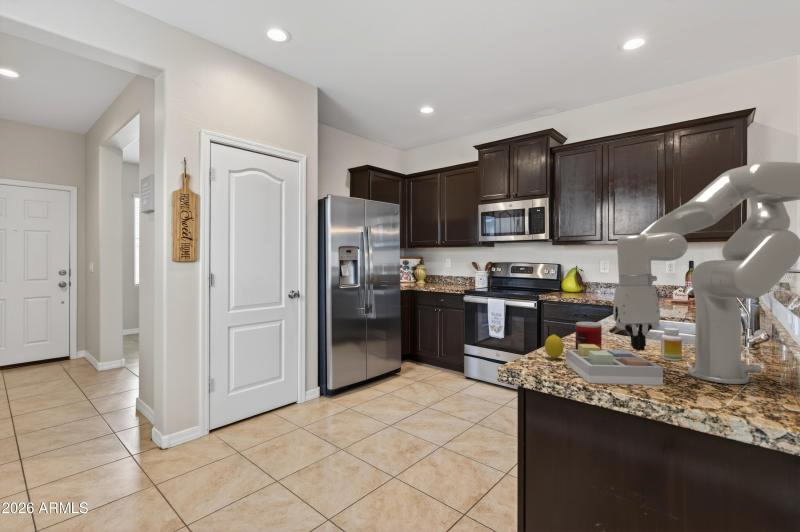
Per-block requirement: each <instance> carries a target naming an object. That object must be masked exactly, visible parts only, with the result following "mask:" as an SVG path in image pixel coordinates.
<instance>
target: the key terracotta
mask: <svg viewBox="0 0 800 532" xmlns="http://www.w3.org/2000/svg"><path fill="white" fill-rule="evenodd" d="M621 363H622V364H624V365H626V366H647V361H645V360H643V359H641V358H639V357H621Z"/></svg>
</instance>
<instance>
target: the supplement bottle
mask: <svg viewBox="0 0 800 532" xmlns="http://www.w3.org/2000/svg"><path fill="white" fill-rule="evenodd" d="M663 333H664V334H662V335H661V337H660V338H661V340H660V345H661V346H660V348H661V349H660V350H661V353H660V355H661V358H662V359H663V360H667V361H672V362H681V361H682V360H683V358H682V357H683V350H682V348H683V345H682V344H683V343H682V342H683V340H682V339H683V338H682V336H680V335H679V334H680V329H679V328H674V327H664V328H663Z"/></svg>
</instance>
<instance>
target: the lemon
mask: <svg viewBox="0 0 800 532" xmlns="http://www.w3.org/2000/svg"><path fill="white" fill-rule="evenodd" d="M544 349H545V352H546V354H547V355H548V356H549V357H550V358H552V359H554V360H556V359H557V358H559V357H561V356H562V354H563V352H564V343H563V340H562V339H561V338H560V337H559V336H558V335H556V334H554V333H553V334H551V335H549V336H547V338H546V340H545V343H544Z"/></svg>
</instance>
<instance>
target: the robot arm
mask: <svg viewBox="0 0 800 532" xmlns="http://www.w3.org/2000/svg"><path fill="white" fill-rule="evenodd" d="M747 199H749V202H750V203H749V204H750V207H751V208H750V210H751V212H750V215H749V216H748V218H747V220H745V222H744V223H743V224H742V225H741V226H740V227H739V228H738V229H737V230H736V231H735V232H734V233H733V234H732V236H730V237H729V239H728V240H726V242H725V244H724V245H723V247H722V250H721V251H722V252H721V253H722V257H723V259H715V260H712V259H711V260H707V261H703V262H701V263H700V264H698V265H696V266H695V267H694V269H693V270H692V272H691V276H690V282H691V286H692V292H693V296H694V305H695V306H694V307H695V308H694V309H695V312H694V313H695V314H694V315H695V322H694V323H695V325H694V326H695V332H694V334H695V335H694V337H695V338H694V341H695V343H694V344H695V345H694V346H695V347H694V352H695V353H694V364H695V365H694V366H691V367H689V368H687V373H688V374H689V375H690V376H692V377H693V378H696V379H700V380H704V381H709V382H711V383H719V384H729V385H742V384H747V383H749V382H750V380H749V376H748V375H747V374H748V373H761V372H762V366H760V365H759V364H747V363H745V362H742V312H741V311H742V310H741V307H740V304H739V303H738V301H737V299H746V300H747V299H748V300H751V299H753V300H754V299H757V298H761V297H762V296H765V294H768V293H769V292H770V291H771V290H772V289H773V288H774V287H775V286H776V285H777V284H778V282H780V280H781V279H782V278H783V277H784V276H785V275H786V274H787V273H788V272H789V271H790V270H791V269H792V267H794V265H796V263H797V262H798V260H799V258H800V238H799V236H798V235H797V234H796V233H795V232H793V231H791V230H789V229H790V227H791V219H790V215H789V213H788V211H787V209H786V206H785V203H788V202H793V201H800V162H791V161H790V162H788V161H759V162H755V163H751V164H748V165H743V166H740V167H736V168H731V169H729V170H726V171H725V172H723V173H721V174H720V175H719V176H718V177H716V178H715V179H714V180H712V181H711V182H710V183H709V184H708V185H706V187H704V188H703V189H702V190H701V191H700V192H698V193H697V194H696V195H695V196H694V197H693V198H691V199H690V200H688V201H687V202H685V203H684V204H682V205H681V206H679V207H677V208H675V209H674V210H672V211H670V212H668V213H667V214H665V215H663V216H662V217H660V218H658V219H657V220H655V221H653V223H651V224H650V225H649V226H647V227H646V228H645V229H643V231H641V233H639V234H632V235H623V236H620V237H619V238H618V239H617V242H616V249H617V253H616V254H617V268H618V269H617V270H618V272H617V273H618V286H616V287H615V290H614V298H613V312H612V314H613V320H614V321H615V325H614V326H615V328H617V329H621V330H625V331H626V332H628V334H629V335H630V345H631V347H632V349H633V350H635V351H638V352H640V351H641V352H642V351H643V352H644V351H645V350H646V348H645V347H646V346H647V345H646V344H647V343H646V342H647V341H646V336H648V333H649V332H650V331H651V330H652V329H655V328H659V327H661V323H660V320H661V310H660V303H659V302H660V301H659V296H658V292H657V290H656V287H655V285H653V284H654V283H653V282H656V281H657V280H658V277H657V276H656V275H653V274H652V261H659V262H670V261H671V262H672V261H675V260H678V259H680V258H682V257H684V255H685V254H686V253H687V251H688V249H689V248H688V247H689V244H688V242H687V239H686V238H685V237H684V236H685V235H688V234H691V233H694V232H697V231H701V230H703V229H706V228H709V227H711V226H713V225H715V224H717V223H719V221H720V220H721V219H723V218H724V217H726V215H728V214H729V213H730V212H731V211H732V210H733V209H735V208H736V207H737V206H738V205H740V204H741V203H742V202H743V201H744V200H747Z"/></svg>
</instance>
